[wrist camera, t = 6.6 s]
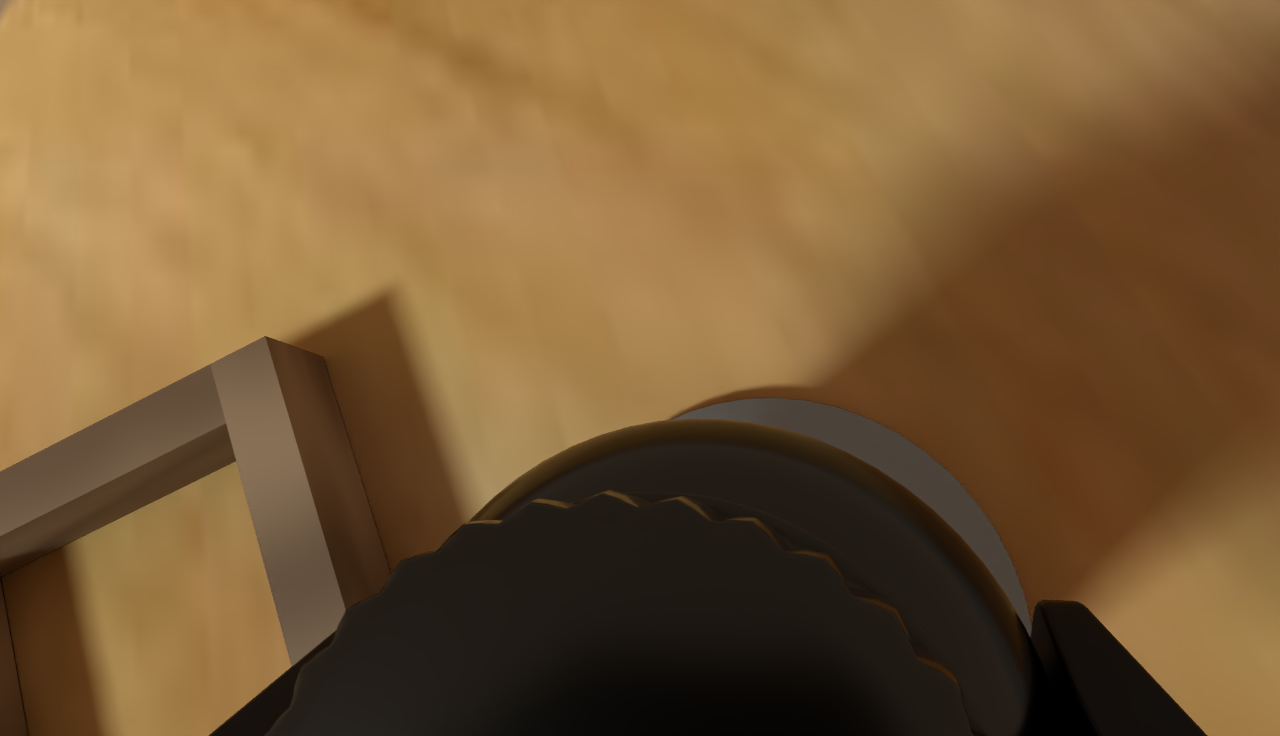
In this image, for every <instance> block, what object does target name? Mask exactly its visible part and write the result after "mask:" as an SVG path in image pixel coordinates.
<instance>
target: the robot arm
mask: <svg viewBox="0 0 1280 736" xmlns="http://www.w3.org/2000/svg"><path fill="white" fill-rule="evenodd" d="M335 634H336V630H335V631H334V632H333V633H332V634H331V635H329V636H328V637H327V638H326V639H325V640H323V641H322V642H321V643H320V644H318V645H317V646H316V647H315V648H314V649H312V650H311V651H310V652H309V653H308V654H306V655H305V656H304V657H303V658H302V659H300V660H299V661H298V662H297V663H296V664H294V665H293V666H292V667H291V668H290V669H288V670H287V671H286V672H285V673H284V674H282V675H281V676H280V677H279V678H278V679H276V680H275V681H274V682H273V683H271V684H270V685H269V686H268V687H267V688H265V689H264V690H263V691H262V692H261V693H259V694H258V695H257V696H256V697H255V698H253V699H252V700H251V701H250V702H249V703H247V704H246V705H245V706H244V707H243V708H241V709H240V710H239V711H238V712H237V713H235V714H234V715H233V716H232V717H230V718H229V719H228V720H227V721H226V722H224V723H223V724H222V725H221V726H220V727H218V728H217V729H216V730H215V731H214V732H212V733H211V734H210V735H209V736H264V735H265V734H266V732H267V731H268V730H269V729H270V727H271V726H272V725H273V724H274V722H275V721H276V720H277V719H278V718H279V717H280V716H281V715H282V714H283V713H284V712H285V711H286V710H287V709H288V708H289V706H290V703H291V700H292V697H293V694H294V686H295V683H296V680H297V677H298V674H299V671H300V668H301V666H303V665H304V664H305V663H306V662H307V661H309V660H310V659H311V658H312V657H313V656H314V655H316V654H317V653H319V652H320V651H322V650H323V649H324V648H326V647H327V646H329V645H330V643H331V641H332V639H333V637H334V636H335ZM1030 638H1031V640H1032V642H1033V645H1034V647H1035V649H1036V651H1037V653H1038V655H1039V657H1040V660H1041V662H1042V664H1043V667H1044V670H1045V672H1046V675H1047V678H1048V681H1049V684H1050V686H1051V689H1052V692H1053V695H1054V698H1055V700H1056V704H1057V708H1058V712H1059V716H1060V720H1061V723H1062V727H1063V731H1064V735H1065V736H1207V735H1206V734H1205V733H1204V732H1203V730H1202V729H1201V728H1200V727H1199V726H1198V725H1197V724H1196V723H1195V722H1194V721H1193V720H1192V719H1191V718H1190V717H1189V716H1188V715H1187V714H1186V712H1185V711H1184V710H1183V709H1182V708H1181V707H1180V706H1179V705H1178V704H1177V703H1176V702H1175V701H1174V700H1173V699H1172V698H1171V697H1170V695H1169V694H1168V693H1167V692H1166V691H1165V690H1164V689H1163V688H1162V687H1161V686H1160V685H1159V684H1158V683H1157V682H1156V681H1155V680H1154V678H1153V677H1152V676H1151V675H1150V674H1149V673H1148V672H1147V671H1146V670H1145V669H1144V668H1143V667H1142V666H1141V665H1140V664H1139V663H1138V661H1137V660H1136V659H1135V658H1134V657H1133V656H1132V655H1131V654H1130V653H1129V652H1128V651H1127V650H1126V649H1125V648H1124V647H1123V646H1122V644H1121V643H1120V642H1119V641H1118V640H1117V639H1116V638H1115V637H1114V636H1113V635H1112V634H1111V633H1110V632H1109V631H1108V630H1107V629H1106V627H1105V626H1104V625H1103V624H1102V623H1101V622H1100V621H1099V620H1098V619H1097V618H1096V617H1095V616H1094V615H1093V614H1092V613H1091V612H1090V610H1089V609H1088V608H1087V607H1086V606H1084V605H1083V604H1081V603H1079V602H1077V601H1062V600H1042V601H1039V602H1038V603H1037V605H1036V607H1035V610H1034V616H1033V622H1032V629H1031V635H1030Z"/></svg>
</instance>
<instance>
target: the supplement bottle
mask: <svg viewBox="0 0 1280 736" xmlns="http://www.w3.org/2000/svg"><path fill="white" fill-rule="evenodd" d="M264 736H1065V735H1064V731H1063V727H1062V723H1061V720H1060V716H1059V712H1058V708H1057V704H1056V700H1055V698H1054V695H1053V692H1052V689H1051V686H1050V684H1049V681H1048V678H1047V675H1046V672H1045V670H1044V667H1043V664H1042V662H1041V660H1040V657H1039V655H1038V653H1037V651H1036V649H1035V647H1034V645H1033V642H1032V640H1031V638H1030V636H1029V634H1028V632H1027V630H1026V628H1025V626H1024V624H1023V622H1022V621H1021V619H1020V617H1019V616H1018V614H1017V612H1016V610H1015V609H1014V607H1013V605H1012V604H1011V602H1010V600H1009V598H1008V597H1007V595H1006V593H1005V592H1004V591H1003V589H1002V588H1001V586H1000V585H999V584H998V582H997V581H996V579H995V578H994V577H993V575H992V574H991V572H990V571H989V570H988V568H987V567H986V565H985V564H984V563H983V562H982V560H981V559H980V558H979V557H978V556H977V555H976V553H975V552H974V551H973V550H972V549H971V548H970V546H969V545H968V544H967V543H966V542H965V541H964V539H963V538H962V537H961V536H960V535H959V534H958V533H957V532H956V531H955V530H954V529H953V528H952V527H951V526H950V525H949V524H948V523H947V522H946V521H945V520H944V519H943V518H942V517H941V516H940V515H938V514H937V513H936V512H935V511H934V510H933V509H932V508H931V507H930V506H928V505H927V504H926V503H925V502H923V501H922V500H921V499H920V498H918V497H917V496H916V495H915V494H913V493H912V492H911V491H910V490H908V489H907V488H906V487H905V486H903V485H902V484H900V483H899V482H897V481H895V480H894V479H892V478H891V477H889V476H888V475H886V474H885V473H883V472H882V471H880V470H879V469H877V468H876V467H874V466H872V465H870V464H868V463H866V462H865V461H863V460H861V459H859V458H857V457H855V456H853V455H851V454H850V453H848V452H846V451H843V450H841V449H839V448H836V447H834V446H831V445H829V444H827V443H824V442H822V441H820V440H817V439H815V438H811V437H808V436H805V435H802V434H799V433H795V432H792V431H789V430H786V429H782V428H777V427H772V426H768V425H763V424H758V423H753V422H745V421H736V420H727V419H692V418H689V419H678V420H666V421H657V422H652V423H646V424H641V425H636V426H630V427H626V428H623V429H620V430H616V431H613V432H609V433H606V434H602V435H599V436H597V437H594V438H592V439H589V440H587V441H584V442H582V443H579V444H577V445H574V446H572V447H570V448H568V449H566V450H564V451H562V452H560V453H558V454H557V455H555V456H553V457H551V458H549V459H547V460H545V461H543V462H542V463H540V464H538V465H537V466H535V467H534V468H532V469H531V470H529V471H528V472H526V473H525V474H523V475H522V476H520V477H518V478H517V479H516V480H515V481H513V482H512V483H511V484H510V485H508V486H507V487H506V488H505V489H503V490H502V491H501V492H500V493H498V494H497V495H496V496H495V497H493V498H492V499H491V500H490V501H489V502H488V503H487V504H486V505H485V506H484V507H483V508H482V509H481V510H480V511H479V512H478V513H477V514H476V515H475V516H474V517H473V518H472V519H471V520H470V521H469V522H468V523H465V524H463V525H462V526H461V527H460V528H459V529H458V530H457V531H455V532H454V533H453V534H452V535H451V536H450V537H449V538H448V539H447V540H446V541H445V542H444V543H443V544H442V545H441V546H440V548H439V549H438V550H437V551H431V552H425V553H422V554H418V555H414V556H411V557H408V558H405V559H403V560H401V562H400V563H399V564H398V566H397V567H396V568H395V569H394V571H393V572H392V573H391V575H390V576H389V578H388V580H387V582H386V584H385V585H384V587H383V588H382V589H381V590H380V592H379V593H377V594H375V595H373V596H370V597H367V598H365V599H363V600H361V601H359V602H357V603H355V604H354V605H352V606H350V607H348V608H347V609H346V611H345V613H344V615H343V617H342V619H341V620H340V622H339V624H338V627H337V630H336V634H335V636H334V637H333V639H332V641H331V643H330V645H329V646H327V647H326V648H324V649H323V650H322V651H320V652H319V653H317V654H316V655H314V656H313V657H312V658H311V659H310V660H309V661H307V662H306V663H305V664H304V665H303V666H301V668H300V671H299V674H298V677H297V680H296V683H295V686H294V694H293V697H292V700H291V703H290V706H289V708H288V709H287V710H286V711H285V712H284V713H283V714H282V715H281V716H280V717H279V718H278V719H277V720H276V721H275V722H274V724H273V725H272V726H271V727H270V729H269V730H268V731H267V732H266V734H265V735H264Z"/></svg>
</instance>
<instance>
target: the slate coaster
mask: <svg viewBox="0 0 1280 736" xmlns="http://www.w3.org/2000/svg"><path fill="white" fill-rule="evenodd" d="M689 418H692V419H727V420H736V421H745V422H753V423H758V424H763V425H768V426H772V427H777V428H782V429H786V430H789V431H792V432H795V433H799V434H802V435H805V436H808V437H811V438H815V439H817V440H820V441H822V442H824V443H827V444H829V445H831V446H834V447H836V448H839V449H841V450H843V451H846V452H848V453H850V454H851V455H853V456H855V457H857V458H859V459H861V460H863V461H865V462H866V463H868V464H870V465H872V466H874V467H876V468H877V469H879V470H880V471H882V472H883V473H885V474H886V475H888V476H889V477H891V478H892V479H894V480H895V481H897V482H899V483H900V484H902V485H903V486H905V487H906V488H907V489H908V490H910V491H911V492H912V493H913V494H915V495H916V496H917V497H918V498H920V499H921V500H922V501H923V502H925V503H926V504H927V505H928V506H930V507H931V508H932V509H933V510H934V511H935V512H936V513H937V514H938V515H940V516H941V517H942V518H943V519H944V520H945V521H946V522H947V523H948V524H949V525H950V526H951V527H952V528H953V529H954V530H955V531H956V532H957V533H958V534H959V535H960V536H961V537H962V538H963V539H964V541H965V542H966V543H967V544H968V545H969V546H970V548H971V549H972V550H973V551H974V552H975V553H976V555H977V556H978V557H979V558H980V559H981V560H982V562H983V563H984V564H985V565H986V567H987V568H988V570H989V571H990V572H991V574H992V575H993V577H994V578H995V579H996V581H997V582H998V584H999V585H1000V586H1001V588H1002V589H1003V591H1004V592H1005V593H1006V595H1007V597H1008V598H1009V600H1010V602H1011V604H1012V605H1013V607H1014V609H1015V610H1016V612H1017V614H1018V616H1019V617H1020V619H1021V621H1022V622H1023V624H1024V626H1025V628H1026V630H1027V632H1028V634H1029V636H1030V635H1031V629H1032V625H1031V621H1030V616H1029V612H1028V607H1027V603H1026V598H1025V595H1024V592H1023V589H1022V587H1021V584H1020V581H1019V579H1018V576H1017V573H1016V570H1015V568H1014V565H1013V562H1012V560H1011V558H1010V556H1009V555H1008V553H1007V551H1006V549H1005V547H1004V545H1003V543H1002V541H1001V539H1000V537H999V535H998V533H997V531H996V530H995V528H994V527H993V525H992V524H991V522H990V521H989V520H988V518H987V517H986V515H985V514H984V512H983V511H982V509H981V508H980V506H979V505H978V504H977V502H976V501H975V500H974V499H973V497H972V496H971V495H970V494H969V493H968V492H967V491H966V490H965V488H964V487H963V486H962V485H961V484H960V483H959V482H958V481H957V480H956V478H955V477H954V476H953V475H952V474H951V473H950V472H948V471H947V470H946V469H945V468H944V467H943V466H942V465H940V464H939V463H938V462H937V461H936V460H935V459H934V458H932V457H931V456H930V455H929V454H928V453H927V452H925V451H924V450H922V449H921V448H919V447H918V446H916V445H915V444H913V443H912V442H910V441H909V440H907V439H906V438H904V437H903V436H902V435H900V434H898V433H896V432H895V431H893V430H891V429H889V428H887V427H885V426H883V425H881V424H879V423H877V422H875V421H873V420H871V419H869V418H866V417H863V416H860V415H858V414H855V413H852V412H849V411H847V410H844V409H841V408H838V407H833V406H829V405H824V404H820V403H816V402H811V401H805V400H794V399H783V398H759V399H743V400H737V401H731V402H724V403H718V404H714V405H711V406H707V407H704V408H701V409H697V410H694V411H691V412H688V413H685V414H683V415H681V416H679V417H676V418H674V419H672V420H678V419H689Z"/></svg>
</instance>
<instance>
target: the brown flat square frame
mask: <svg viewBox="0 0 1280 736" xmlns="http://www.w3.org/2000/svg"><path fill="white" fill-rule="evenodd" d="M235 461H236V462H237V465H238V469H239V473H240V476H241V480H242V484H243V487H244V491H245V495H246V499H247V502H248V506H249V510H250V513H251V517H252V521H253V525H254V528H255V532H256V536H257V539H258V543H259V547H260V550H261V554H262V558H263V562H264V565H265V569H266V573H267V576H268V580H269V584H270V587H271V591H272V595H273V599H274V602H275V606H276V610H277V613H278V617H279V621H280V625H281V628H282V632H283V636H284V639H285V643H286V647H287V650H288V654H289V658H290V662H291V665H292V666H293V665H294V664H296V663H297V662H298V661H299V660H300V659H302V658H303V657H304V656H305V655H306V654H308V653H309V652H310V651H311V650H312V649H314V648H315V647H316V646H317V645H318V644H320V643H321V642H322V641H323V640H325V639H326V638H327V637H328V636H329V635H331V634H332V633H333V632H334V631H335V630H337V627H338V624H339V622H340V620H341V619H342V617H343V615H344V613H345V611H346V609H347V608H348V607H350V606H352V605H354V604H355V603H357V602H359V601H361V600H363V599H365V598H367V597H370V596H373V595H375V594H377V593H379V592H380V590H381V589H382V588H383V587H384V585H385V584H386V582H387V580H388V578H389V576H390V575H391V573H390V570H389V566H388V563H387V560H386V557H385V554H384V550H383V547H382V544H381V541H380V538H379V534H378V531H377V528H376V525H375V522H374V519H373V515H372V512H371V509H370V506H369V503H368V499H367V496H366V493H365V490H364V487H363V483H362V480H361V477H360V474H359V471H358V468H357V464H356V461H355V458H354V455H353V452H352V448H351V445H350V442H349V439H348V436H347V432H346V429H345V426H344V423H343V420H342V416H341V413H340V410H339V407H338V404H337V401H336V397H335V394H334V391H333V388H332V385H331V381H330V378H329V375H328V372H327V369H326V365H325V362H324V359H323V357H322V356H320V355H317V354H314V353H311V352H308V351H306V350H303V349H300V348H297V347H294V346H292V345H289V344H286V343H283V342H280V341H278V340H275V339H272V338H269V337H266V336H264V337H262V338H260V339H259V340H257V341H255V342H253V343H251V344H249V345H247V346H245V347H243V348H241V349H239V350H237V351H235V352H233V353H231V354H229V355H227V356H225V357H223V358H221V359H219V360H218V361H216V362H214V363H212V364H210V365H208V366H206V367H204V368H202V369H200V370H198V371H196V372H194V373H192V374H190V375H188V376H186V377H184V378H182V379H180V380H178V381H177V382H175V383H173V384H171V385H169V386H167V387H165V388H163V389H161V390H159V391H157V392H155V393H153V394H151V395H149V396H147V397H145V398H143V399H141V400H139V401H137V402H136V403H134V404H132V405H130V406H128V407H126V408H124V409H122V410H120V411H118V412H116V413H114V414H112V415H110V416H108V417H106V418H104V419H102V420H100V421H98V422H96V423H94V424H93V425H91V426H89V427H87V428H85V429H83V430H81V431H79V432H77V433H75V434H73V435H71V436H69V437H67V438H65V439H63V440H61V441H59V442H57V443H55V444H53V445H52V446H50V447H48V448H46V449H44V450H42V451H40V452H38V453H36V454H34V455H32V456H30V457H28V458H26V459H24V460H22V461H20V462H18V463H16V464H14V465H12V466H11V467H9V468H7V469H5V470H3V471H1V472H0V577H1V576H3V575H5V574H7V573H9V572H11V571H13V570H15V569H17V568H19V567H21V566H23V565H25V564H27V563H29V562H32V561H34V560H36V559H38V558H40V557H42V556H44V555H46V554H48V553H50V552H52V551H54V550H56V549H58V548H60V547H62V546H64V545H66V544H68V543H70V542H72V541H74V540H76V539H78V538H80V537H82V536H84V535H86V534H88V533H90V532H92V531H94V530H96V529H99V528H101V527H103V526H105V525H107V524H109V523H111V522H113V521H115V520H117V519H119V518H121V517H123V516H125V515H127V514H129V513H131V512H133V511H135V510H137V509H139V508H141V507H143V506H145V505H147V504H149V503H151V502H153V501H155V500H157V499H159V498H161V497H163V496H166V495H168V494H170V493H172V492H174V491H176V490H178V489H180V488H182V487H184V486H186V485H188V484H190V483H192V482H194V481H196V480H198V479H200V478H202V477H204V476H206V475H208V474H210V473H212V472H214V471H216V470H218V469H220V468H222V467H224V466H226V465H228V464H230V463H233V462H235ZM0 736H28V733H27V728H26V722H25V716H24V711H23V705H22V699H21V694H20V688H19V682H18V677H17V671H16V665H15V659H14V654H13V648H12V642H11V637H10V631H9V625H8V620H7V614H6V608H5V603H4V597H3V591H2V586H1V580H0Z"/></svg>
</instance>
